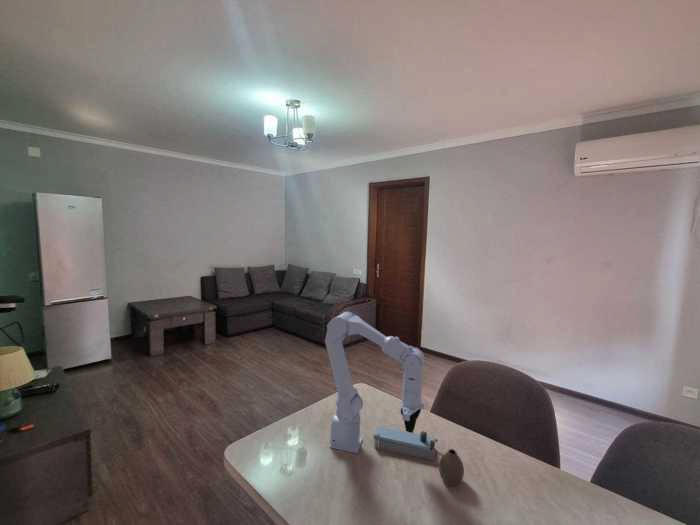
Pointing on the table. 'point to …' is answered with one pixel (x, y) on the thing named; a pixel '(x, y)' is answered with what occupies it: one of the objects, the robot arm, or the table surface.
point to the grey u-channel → (407, 449)
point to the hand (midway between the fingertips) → (409, 431)
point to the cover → (403, 437)
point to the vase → (451, 468)
